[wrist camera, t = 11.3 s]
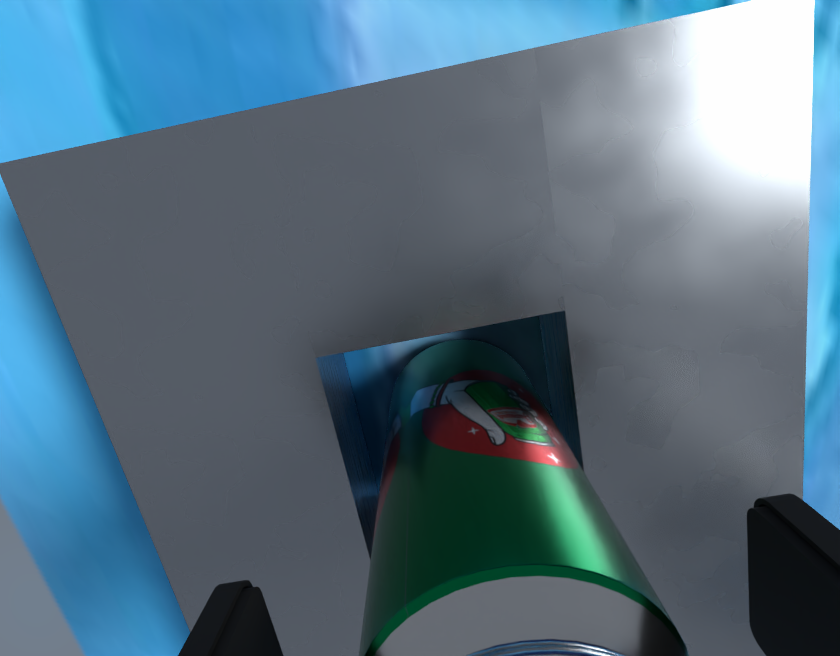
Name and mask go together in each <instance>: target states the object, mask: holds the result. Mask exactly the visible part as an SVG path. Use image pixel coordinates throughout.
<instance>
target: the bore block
mask: <svg viewBox="0 0 840 656" xmlns="http://www.w3.org/2000/svg"><path fill="white" fill-rule="evenodd" d="M813 31H814V0H754V1H749V2H744V3H740V4H735V5H731V6H726V7H721V8H717V9H712V10H707V11H703V12H698V13H694V14H689V15H684V16H680V17H675V18H670V19H666V20H661V21H657V22H652V23H647V24H643V25H638V26H633V27H629V28H624V29H620V30H615V31H610V32H606V33H601V34H596V35H592V36H587V37H583V38H578V39H573V40H569V41H564V42H559V43H555V44H550V45H546V46H541V47H536V48H532V49H527V50H522V51H518V52H513V53H509V54H504V55H499V56H495V57H490V58H485V59H481V60H476V61H472V62H467V63H462V64H458V65H453V66H448V67H444V68H439V69H435V70H430V71H425V72H421V73H416V74H411V75H407V76H402V77H398V78H393V79H388V80H384V81H379V82H374V83H370V84H365V85H361V86H356V87H351V88H347V89H342V90H337V91H333V92H328V93H324V94H319V95H314V96H310V97H305V98H300V99H296V100H291V101H287V102H282V103H277V104H273V105H268V106H264V107H259V108H254V109H250V110H245V111H240V112H236V113H231V114H227V115H222V116H217V117H213V118H208V119H203V120H199V121H194V122H190V123H185V124H180V125H176V126H171V127H166V128H162V129H157V130H153V131H148V132H143V133H139V134H134V135H129V136H125V137H120V138H116V139H111V140H106V141H102V142H97V143H92V144H88V145H83V146H79V147H74V148H69V149H65V150H60V151H55V152H51V153H46V154H42V155H37V156H32V157H28V158H23V159H18V160H14V161H9V162H5V163H0V174H1V177H2V179H3V182H4V184H5V186H6V189H7V191H8V194H9V196H10V199H11V201H12V203H13V206H14V208H15V211H16V213H17V215H18V218H19V220H20V223H21V225H22V227H23V230H24V232H25V235H26V237H27V240H28V242H29V244H30V247H31V249H32V252H33V254H34V256H35V259H36V261H37V264H38V266H39V268H40V271H41V273H42V276H43V278H44V280H45V283H46V285H47V288H48V290H49V293H50V295H51V297H52V300H53V302H54V305H55V307H56V309H57V312H58V314H59V317H60V319H61V321H62V324H63V326H64V329H65V331H66V334H67V336H68V338H69V341H70V343H71V346H72V348H73V350H74V353H75V355H76V358H77V360H78V362H79V365H80V367H81V370H82V372H83V374H84V377H85V379H86V382H87V384H88V387H89V389H90V391H91V394H92V396H93V399H94V401H95V403H96V406H97V408H98V411H99V413H100V415H101V418H102V420H103V423H104V425H105V428H106V430H107V432H108V435H109V437H110V440H111V442H112V444H113V447H114V449H115V452H116V454H117V456H118V459H119V461H120V464H121V466H122V468H123V471H124V473H125V476H126V478H127V481H128V483H129V485H130V488H131V490H132V493H133V495H134V497H135V500H136V502H137V505H138V507H139V509H140V512H141V514H142V517H143V519H144V522H145V524H146V526H147V529H148V531H149V534H150V536H151V538H152V541H153V543H154V546H155V548H156V550H157V553H158V555H159V558H160V560H161V562H162V565H163V567H164V570H165V572H166V575H167V577H168V579H169V582H170V584H171V587H172V589H173V591H174V594H175V596H176V599H177V601H178V603H179V606H180V608H181V611H182V613H183V616H184V618H185V620H186V623H187V625H188V628H189V630H190V632H191V631H192V629H193V627H194V625H195V623H196V622H197V620H198V618H199V616H200V614H201V612H202V610H203V609H204V607H205V605H206V603H207V601H208V599H209V597H210V595H211V594H212V592H213V590H214V589H215V587H216V586H218V585H219V584H224V583H230V582H236V581H243V580H249V581H250V582H251V583H252V585H253V587H259V588H260V589H261V591H262V594H263V597H264V600H265V603H266V606H267V609H268V612H269V614H270V617H271V620H272V623H273V626H274V629H275V632H276V635H277V638H278V641H279V644H280V647H281V650H282V652H283V655H284V656H359V649H360V641H361V633H362V625H363V617H364V609H365V601H366V593H367V585H368V577H369V569H370V561H371V553H372V545H373V537H374V529H375V521H376V513H377V505H378V497H379V493H378V489H377V485H376V481H375V478H374V474H373V470H372V466H371V462H370V458H369V454H368V450H367V446H366V442H365V438H364V434H363V430H362V426H361V422H360V419H359V415H358V411H357V407H356V403H355V399H354V395H353V391H352V387H351V383H350V379H349V375H348V371H347V367H346V363H345V359H344V356H343V353H344V352H349V351H354V350H360V349H365V348H370V347H375V346H381V345H386V344H391V343H396V342H402V341H407V340H412V339H417V338H423V337H428V336H433V335H438V334H444V333H449V332H454V331H459V330H465V329H470V328H475V327H480V326H486V325H491V324H496V323H501V322H507V321H512V320H517V319H522V318H528V317H533V316H538V315H539V321H540V328H541V336H542V343H543V351H544V358H545V366H546V373H547V381H548V388H549V396H550V403H551V411H552V418H553V421H554V422H555V424H556V426H557V428H558V429H559V431H560V433H561V434H562V436H563V438H564V439H565V441H566V443H567V444H568V446H569V448H570V449H571V451H572V453H573V454H574V456H575V458H576V460H577V461H578V463H579V465H580V466H581V468H582V470H583V471H584V473H585V475H586V476H587V478H588V480H589V481H590V483H591V485H592V486H593V488H594V490H595V492H596V493H597V495H598V497H599V498H600V500H601V502H602V503H603V505H604V507H605V508H606V510H607V512H608V513H609V515H610V517H611V519H612V520H613V522H614V524H615V525H616V527H617V529H618V530H619V532H620V534H621V535H622V537H623V539H624V540H625V542H626V544H627V545H628V547H629V549H630V551H631V552H632V554H633V556H634V557H635V559H636V561H637V562H638V564H639V566H640V567H641V569H642V571H643V572H644V574H645V576H646V577H647V579H648V581H649V583H650V584H651V586H652V588H653V589H654V591H655V593H656V594H657V596H658V598H659V599H660V601H661V603H662V604H663V606H664V608H665V610H666V611H667V613H668V615H669V616H670V618H671V620H672V621H673V623H674V625H675V626H676V628H677V630H678V632H679V634H680V635H681V637H682V639H683V641H684V643H685V645H686V647H687V650H688V654H689V656H766V655H765V654H764V652H763V651H762V650H761V648H760V647H759V645H758V644H757V642H756V640H755V638H754V636H753V634H752V631H751V628H750V623H749V588H748V547H747V511H748V509H750V508H754V502H755V501H756V499H758V498H763V497H769V496H776V495H782V494H788V493H790V494H794V495H796V496H797V497H799V498H800V499H802V500H803V460H804V417H805V374H806V331H807V289H808V246H809V203H810V160H811V117H812V74H813Z"/></svg>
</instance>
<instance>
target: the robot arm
mask: <svg viewBox="0 0 840 656" xmlns="http://www.w3.org/2000/svg"><path fill="white" fill-rule="evenodd" d="M747 547H748V588H749V623H750V628H751V631H752V634H753V636H754V638H755V640H756V642H757V644H758V645H759V647H760V648H761V650H762V651H763V652H764V654H765V655H766V656H840V530H839V529H838V528H836V527H835V526H834V525H833V524H831V523H830V522H829V521H828V520H826V519H825V518H824V517H823V516H821V515H820V514H819V513H818V512H817V511H815V510H814V509H813V508H812V507H810V506H809V505H808V504H807V503H805V502H804V501H803V500H802V499H800V498H799V497H797V496H796V495H794V494H790V493H788V494H782V495H776V496H769V497H763V498H758V499H756V501H755V502H754V508H750V509H748V511H747ZM178 656H284V655H283V652H282V650H281V647H280V644H279V641H278V638H277V635H276V632H275V629H274V626H273V623H272V620H271V617H270V614H269V612H268V609H267V606H266V603H265V600H264V597H263V594H262V591H261V589H260V588H259V587H253V585H252V583H251V582H250V581H249V580H243V581H236V582H230V583H224V584H219V585H218V586H216V587H215V589H214V590H213V592H212V594H211V595H210V597H209V599H208V601H207V603H206V605H205V607H204V609H203V610H202V612H201V614H200V616H199V618H198V620H197V622H196V623H195V625H194V627H193V629H192V631H191V633H190V635H189V636H188V638H187V640H186V642H185V644H184V646H183V648H182V649H181V651H180V653H179V655H178Z"/></svg>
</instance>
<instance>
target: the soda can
mask: <svg viewBox="0 0 840 656" xmlns="http://www.w3.org/2000/svg"><path fill="white" fill-rule="evenodd" d="M359 656H689V654H688V650H687V647H686V645H685V643H684V641H683V639H682V637H681V635H680V634H679V632H678V630H677V628H676V626H675V625H674V623H673V621H672V620H671V618H670V616H669V615H668V613H667V611H666V610H665V608H664V606H663V604H662V603H661V601H660V599H659V598H658V596H657V594H656V593H655V591H654V589H653V588H652V586H651V584H650V583H649V581H648V579H647V577H646V576H645V574H644V572H643V571H642V569H641V567H640V566H639V564H638V562H637V561H636V559H635V557H634V556H633V554H632V552H631V551H630V549H629V547H628V545H627V544H626V542H625V540H624V539H623V537H622V535H621V534H620V532H619V530H618V529H617V527H616V525H615V524H614V522H613V520H612V519H611V517H610V515H609V513H608V512H607V510H606V508H605V507H604V505H603V503H602V502H601V500H600V498H599V497H598V495H597V493H596V492H595V490H594V488H593V486H592V485H591V483H590V481H589V480H588V478H587V476H586V475H585V473H584V471H583V470H582V468H581V466H580V465H579V463H578V461H577V460H576V458H575V456H574V454H573V453H572V451H571V449H570V448H569V446H568V444H567V443H566V441H565V439H564V438H563V436H562V434H561V433H560V431H559V429H558V428H557V426H556V424H555V422H554V421H553V419H552V417H551V416H550V414H549V412H548V411H547V409H546V407H545V406H544V404H543V402H542V401H541V399H540V397H539V395H538V394H537V392H536V390H535V389H534V387H533V385H532V384H531V382H530V380H529V379H528V377H527V375H526V374H525V372H524V370H523V369H522V367H521V366H520V365H519V364H518V363H517V361H516V360H515V359H513V358H512V357H511V356H510V355H509V354H508V353H506V352H505V351H503V350H501V349H500V348H498V347H496V346H493V345H491V344H489V343H485V342H481V341H477V340H467V339H461V340H451V341H446V342H442V343H439V344H436V345H434V346H431V347H429V348H427V349H426V350H424V351H422V352H420V353H419V354H418V355H417V356H415V357H414V358H413V359H412V360H411V361H410V362H409V363H408V364H407V365H406V366H405V367H404V369H403V370H402V372H401V373H400V375H399V376H398V378H397V380H396V383H395V385H394V388H393V391H392V395H391V402H390V410H389V418H388V426H387V434H386V442H385V450H384V458H383V466H382V474H381V482H380V489H379V497H378V505H377V513H376V521H375V529H374V537H373V545H372V553H371V561H370V569H369V577H368V585H367V593H366V601H365V609H364V617H363V625H362V633H361V641H360V649H359Z"/></svg>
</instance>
